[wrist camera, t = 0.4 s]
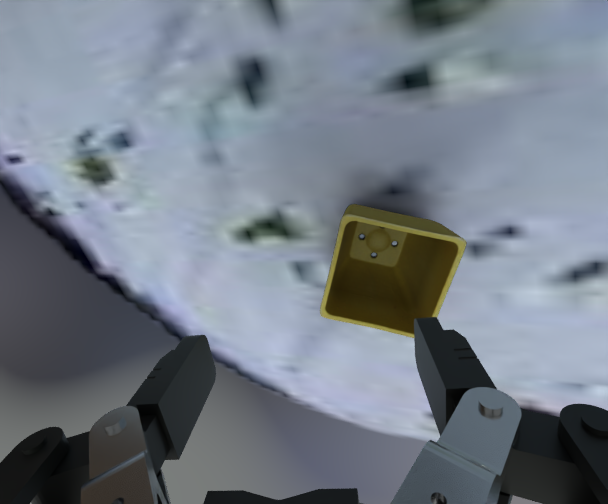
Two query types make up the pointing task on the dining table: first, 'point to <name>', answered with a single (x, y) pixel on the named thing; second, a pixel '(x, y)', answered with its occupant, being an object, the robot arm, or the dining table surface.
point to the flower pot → (389, 269)
